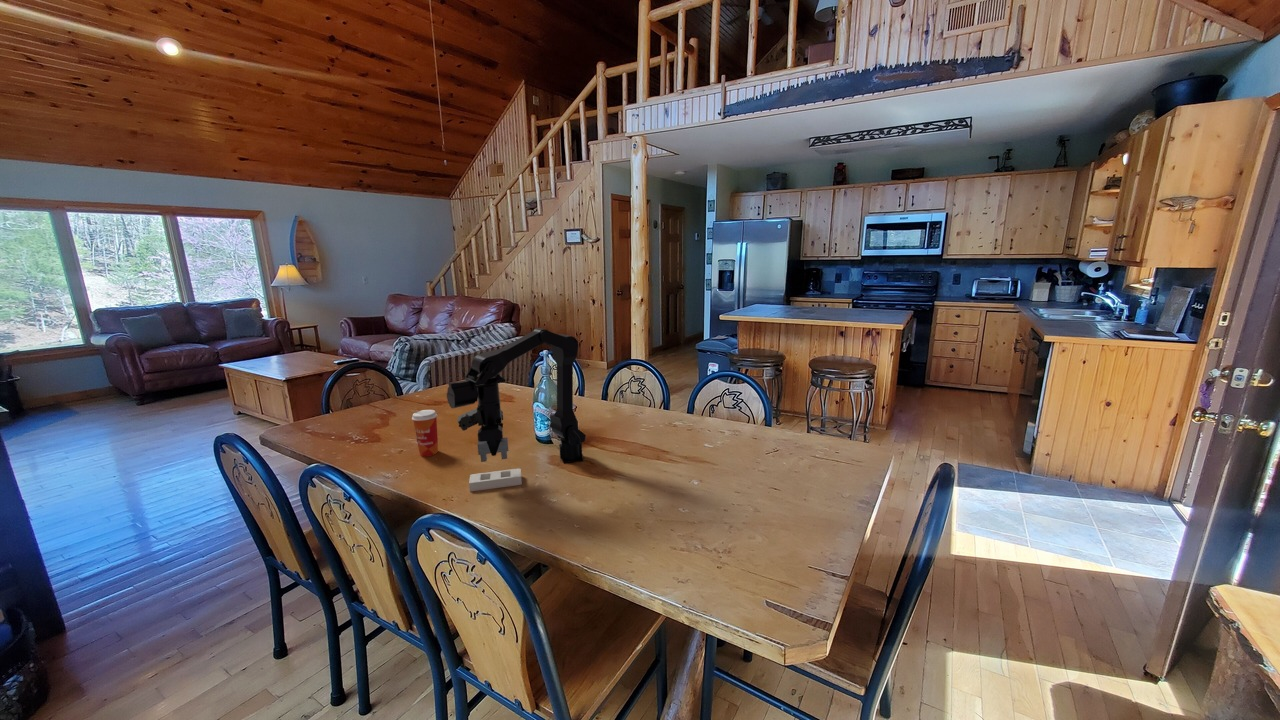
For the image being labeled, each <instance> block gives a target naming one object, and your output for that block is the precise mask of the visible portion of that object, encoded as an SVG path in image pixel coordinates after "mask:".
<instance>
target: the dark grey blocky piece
mask: <svg viewBox="0 0 1280 720" xmlns="http://www.w3.org/2000/svg"><path fill="white" fill-rule="evenodd" d="M476 446H477V453H478V455H480V462H481V463H483V462H488V455H490V454H491V452H490V450H489V447H488V444H487V442H486V441H483V442H479V441H478V440H477V445H476ZM508 452H509V440H508V437H503V439H501V441H500V444H499V447H498V450H497V453H500V456H501V457H500V458H501V460H506V459H508ZM478 455H477V456H478Z"/></svg>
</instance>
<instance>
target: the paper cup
mask: <svg viewBox="0 0 1280 720" xmlns="http://www.w3.org/2000/svg"><path fill="white" fill-rule="evenodd" d="M437 417H438V414H437V412H436V411H435V410H434V409H423V410H422V409H421V410H418V411H416V412H414V413H412V417H411V420H412V422H413V426H414V433H415V436H416V442H417V447H418V452H419V455H420V456H421V457H432V456H434V454H435V455H436V453H437V452H438V453H439V444H438V442H439V441H438V424H437V423H438V422H437V421H438V420H437ZM438 453H437V454H438Z"/></svg>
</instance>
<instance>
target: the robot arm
mask: <svg viewBox="0 0 1280 720" xmlns="http://www.w3.org/2000/svg"><path fill="white" fill-rule="evenodd" d="M543 344H544V345H546V346H549V347H551V351H552V352H551V353H552V357H553V359H554V360H555V363H556V410H555V413H554V414H550V416H549V418H550V424H549V428H551V431H552V433H553V434H554V435H556V437H557V439H559V440H560V443H559V444H558V447H559V448H558V451H559V458H560V460H561V463H563V464H567V463H574V462H575V463H576V462H583V461H584V457H583V443H584V442H585V441H586V436H587V435H586V434H585V433H584V432H582V431H581V430H580V429H579V424H578V423H579V422H578V418H577V417H576V413H575V412H574V406H573V405H574V401H573V399H574V395H573V393H574V392H573V391H574V386H573V385H574V380H573V379H574V376H573V375H574V374H573V373H574V372H573V371H574V368H573V367H574V363H575V362H576V360H577V357H578V354H579V353H578V352H579V347H580V346H579V340H578V339H577V338H576V337H574V336H572V335H569V334H568V335H567V334H562V333H555V332H552V331H550V330H549V329H545V328H542V327H541V328H540V327H537V328H535V329H533V331H531V332H529V333H527V334H525V335H524V336H521V337H520V338H518V339H516V340H514V341H512V342H511V343H508V344H506V345H505V346H503V347H501V348H497V349H494V350H493V349H492V350H489V351H485V352H482V353H478V354H477V355H475V356H474V357H473V358H472V362H471V366H470V368H469V370H468V372H467V373H466V374H465V377H464V380H460V381H459V380H458V381H449V382H448V387H447V390H446V399H447V402H448V405H449V407H450V408H451V409H457V408H461V407H465V406H470V405H474V404H475V403H476V402H478V403H477V407H476V408H475V409H472V410H469V411H466V412H465V413H463V414H461V415H459V416H458V417H457V420H456V421H457V422H458V427H459V428H461V430H462V432H463V431H464V432H465V431H467V430H468V429H469V428H471V427H474V426H476V425H477V426H478V427H480V428H479V429H478V430H477V442H478V441H479V442H483V441H486V442H487V444H488V447H489V450H490V452H491V453H490V454H491V456H492V457H494V456H497V450H498V447H499V444H500V441H501V439H503V438H504V431H503V430H504V429H503V428H504V423H503V421H504V412H503V410H502V409H501V399H500V387H499V384H501V383H506V379H505V378H503V377H502V376H501V375H500V373H501V372H502V371H503V370H505V369H506V368H507V366H508V365H509V364H510V363H511V362H512V361H514V360H516V359H518V358H520V357H522V356H523V355H525V354H527V353H528V352H530V351H532V350H535V349H536V348H538V347H539V346H541V345H543Z"/></svg>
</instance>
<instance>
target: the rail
mask: <svg viewBox="0 0 1280 720" xmlns="http://www.w3.org/2000/svg"><path fill="white" fill-rule="evenodd" d="M521 471H522V470H521V468H510V469H504V470H502V469H501V470H495V471H489V472H480V473H479V472H478V473H473V474H470V475H469V482H468V488H469V492H476V491H477V492H478V491H484V490H491V489H499V488H506V487H513V486H520V485H523V483H522V472H521Z"/></svg>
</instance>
